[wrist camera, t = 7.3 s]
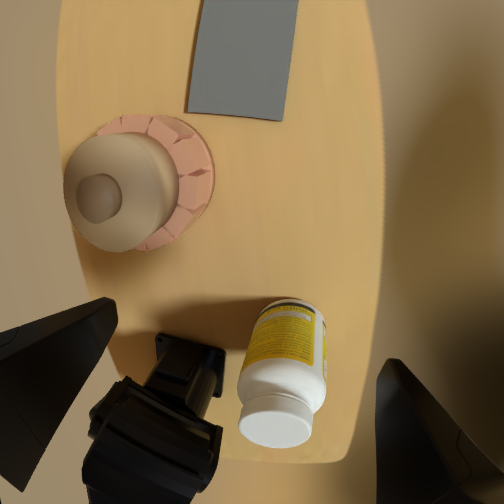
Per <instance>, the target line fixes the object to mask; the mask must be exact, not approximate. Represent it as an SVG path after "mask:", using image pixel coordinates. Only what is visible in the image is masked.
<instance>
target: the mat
mask: <svg viewBox="0 0 504 504" xmlns="http://www.w3.org/2000/svg"><path fill="white" fill-rule="evenodd" d="M297 8H298V0H204V4H203V9H202V15H201V20H200V26H199V32H198V38H197V44H196V51H195V57H194V64H193V71H192V79H191V87H190V95H189V103H188V112H196V113H212V114H225V115H235V116H245V117H254V118H262V119H270V120H277V121H282V120H283V113H284V106H285V99H286V91H287V84H288V77H289V69H290V62H291V54H292V47H293V39H294V32H295V24H296V16H297Z"/></svg>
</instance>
